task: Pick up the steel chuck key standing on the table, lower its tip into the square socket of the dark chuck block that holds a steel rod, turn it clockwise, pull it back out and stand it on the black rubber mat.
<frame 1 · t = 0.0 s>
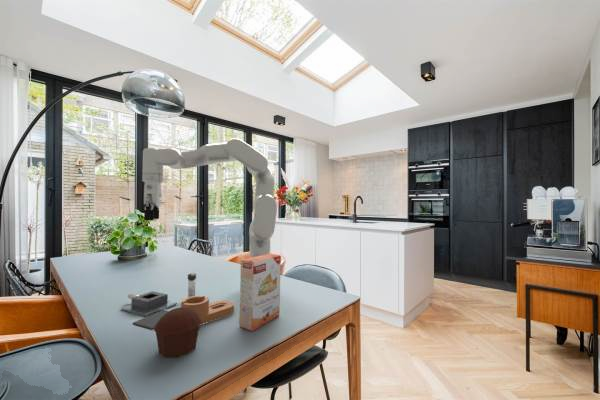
hand: (152, 219, 111), 31 cm above the table, tool pointing down, fingers open, 9 cm apart
muffin: (178, 349, 70), on the table
chuck block: (149, 307, 97), on the table
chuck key: (191, 299, 105), on the table
rubber mat: (158, 319, 87), on the table
bracket: (208, 317, 90), on the table
cracker box: (260, 322, 87), on the table
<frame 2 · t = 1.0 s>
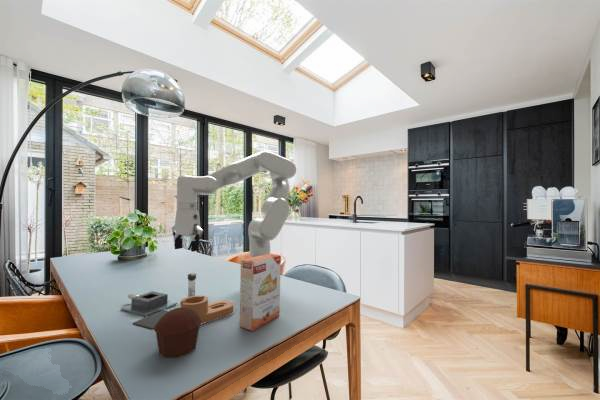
hand: (186, 249, 106), 20 cm above the table, tool pointing down, fingers open, 9 cm apart
nothing on the table moved.
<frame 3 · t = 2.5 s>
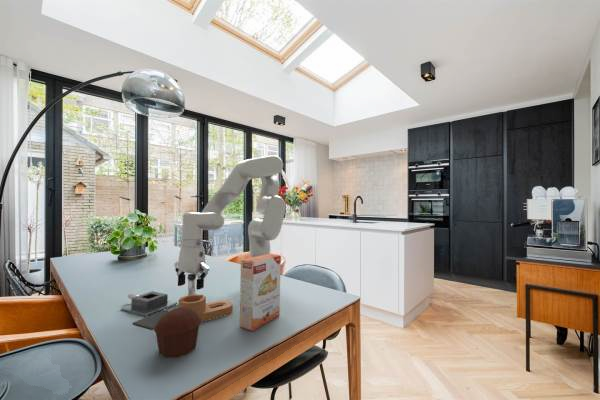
hand: (190, 286, 105), 5 cm above the table, tool pointing down, fingers open, 9 cm apart
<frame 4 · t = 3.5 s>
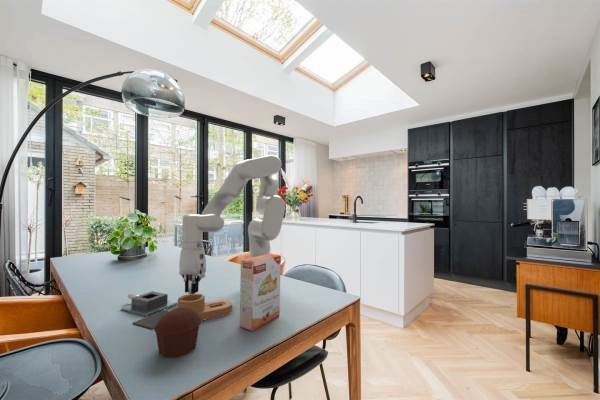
hand: (191, 291, 105), 3 cm above the table, tool pointing down, fingers closed on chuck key, 2 cm apart
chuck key: (191, 299, 105), on the table, touching gripper
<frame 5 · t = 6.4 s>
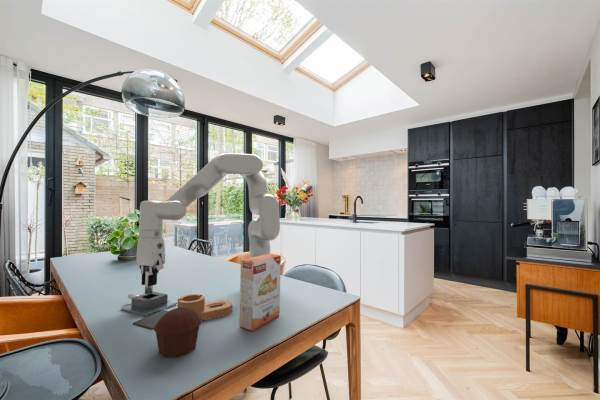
hand: (149, 284, 97), 8 cm above the table, tool pointing down, fingers closed on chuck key, 2 cm apart
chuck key: (148, 292, 97), point 5 cm above the table, touching gripper
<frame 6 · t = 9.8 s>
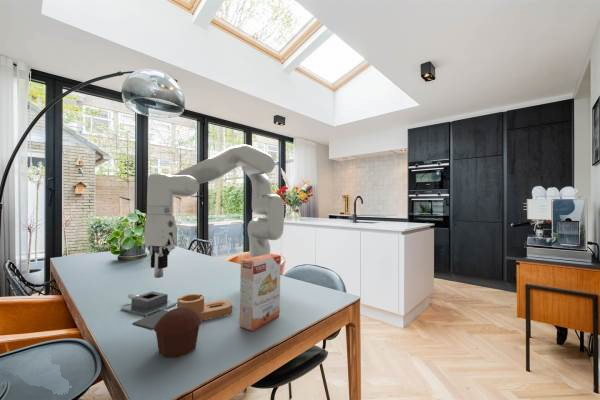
hand: (159, 266, 88), 17 cm above the table, tool pointing down, fingers closed on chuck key, 2 cm apart
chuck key: (158, 276, 87), point 14 cm above the table, touching gripper
when the fingers open (5 cm above the table, at t = 12.3 s): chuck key drops 1 cm, resting on rubber mat.
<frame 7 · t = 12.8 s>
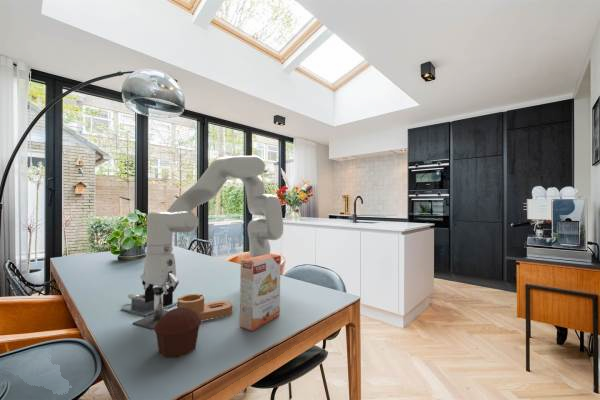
hand: (158, 303, 87), 5 cm above the table, tool pointing down, fingers open, 7 cm apart
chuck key: (158, 318, 87), resting on rubber mat
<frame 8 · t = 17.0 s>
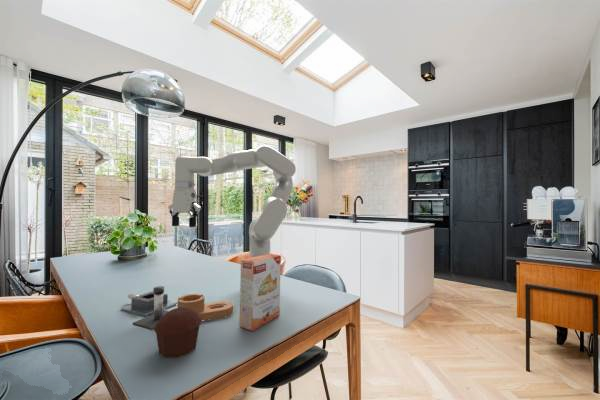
hand: (183, 226, 113), 28 cm above the table, tool pointing down, fingers open, 9 cm apart
at the end: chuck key inside the target area on the rubber mat (0.0 cm from its centre), point 0.4 cm above the rubber mat's base; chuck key tilted 0°; the gripper is holding nothing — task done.
